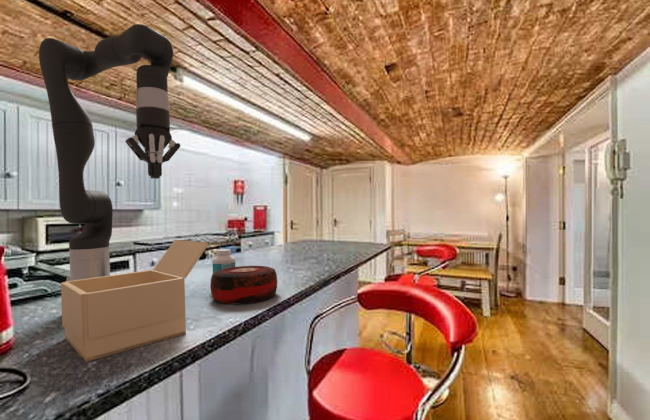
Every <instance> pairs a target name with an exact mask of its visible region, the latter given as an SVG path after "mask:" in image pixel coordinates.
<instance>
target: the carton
mask: <svg viewBox="0 0 650 420" xmlns="http://www.w3.org/2000/svg"><path fill="white" fill-rule="evenodd" d="M185 288H186V287H185V278H183V277H179V276H175V275H171V274H167V273H163V272H159V271H155V270H154V269H148V270H140V271H133V272H126V273H119V274H113V275H111V274H110V276H103V277H96V278H88V279H81V280H73V281H67V280H65V281H63V282H60V291H61V292H60V295H61V296H60V297H61V325H62V327H63V328H64V333H65V334H64V339H65V340H66V341H67V343H68V344H70V346H71V347H72V348H73V349H74V351H75V352H76V353H77V354H78V355H79V356H80V357H81V358H82V359H83V361H84V363H88V362H91V361H94V360H98V359H102V358H105V357H109V356H113V355H116V354H119V353H123V352H126V351H130V350H134V349H137V347H138V348H141V347H144V345H145V346H147V345H151V344H152V345H153V344H155V343H158V342H163V341H166V340H169V338H170V339H173V338H176V337H181V336H184V335H186V334H187V322H186V321H187V320H186V289H185Z"/></svg>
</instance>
